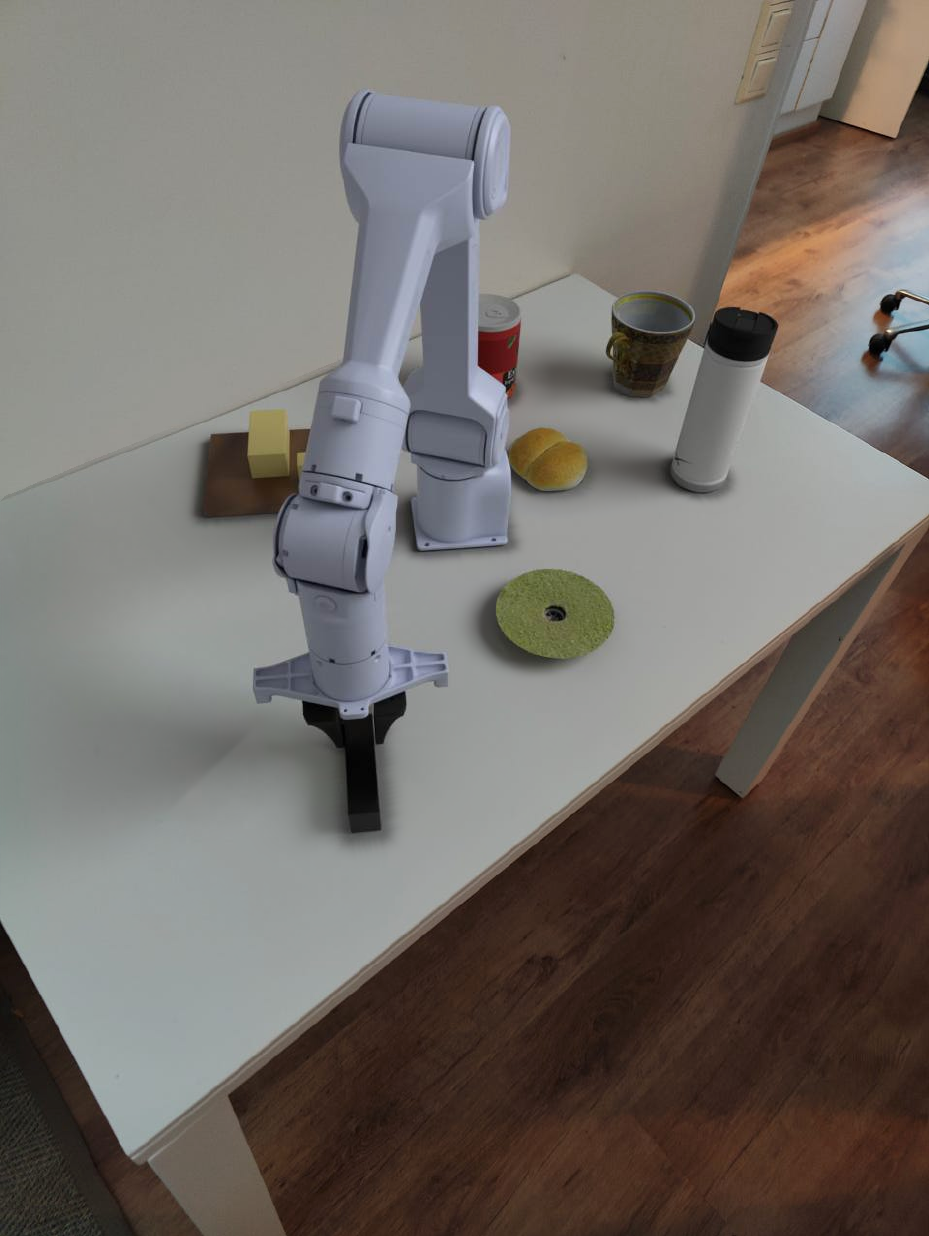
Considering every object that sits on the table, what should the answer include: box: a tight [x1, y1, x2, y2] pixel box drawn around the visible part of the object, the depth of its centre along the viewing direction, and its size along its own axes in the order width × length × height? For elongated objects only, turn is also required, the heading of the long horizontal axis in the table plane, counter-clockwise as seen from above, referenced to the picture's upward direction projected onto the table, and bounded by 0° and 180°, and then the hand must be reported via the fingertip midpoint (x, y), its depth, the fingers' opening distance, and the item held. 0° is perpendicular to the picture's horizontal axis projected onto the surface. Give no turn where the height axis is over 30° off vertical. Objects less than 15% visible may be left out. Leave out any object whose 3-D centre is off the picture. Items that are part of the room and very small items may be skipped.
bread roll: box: [508, 427, 589, 492], centre depth 93 cm, size 8×9×4 cm
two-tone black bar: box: [343, 704, 383, 834], centre depth 69 cm, size 19×2×3 cm, turn 8°
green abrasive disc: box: [495, 568, 616, 659], centre depth 78 cm, size 11×11×2 cm
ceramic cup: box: [605, 290, 696, 398], centre depth 102 cm, size 13×10×10 cm
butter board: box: [202, 428, 311, 518], centre depth 92 cm, size 14×13×1 cm
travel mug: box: [669, 306, 779, 493], centre depth 87 cm, size 6×7×20 cm
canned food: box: [478, 293, 522, 401], centre depth 100 cm, size 8×8×11 cm
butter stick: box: [247, 408, 290, 478], centre depth 91 cm, size 4×8×3 cm, turn 8°
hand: (359, 736), depth 68 cm, fingers open, 3 cm apart
